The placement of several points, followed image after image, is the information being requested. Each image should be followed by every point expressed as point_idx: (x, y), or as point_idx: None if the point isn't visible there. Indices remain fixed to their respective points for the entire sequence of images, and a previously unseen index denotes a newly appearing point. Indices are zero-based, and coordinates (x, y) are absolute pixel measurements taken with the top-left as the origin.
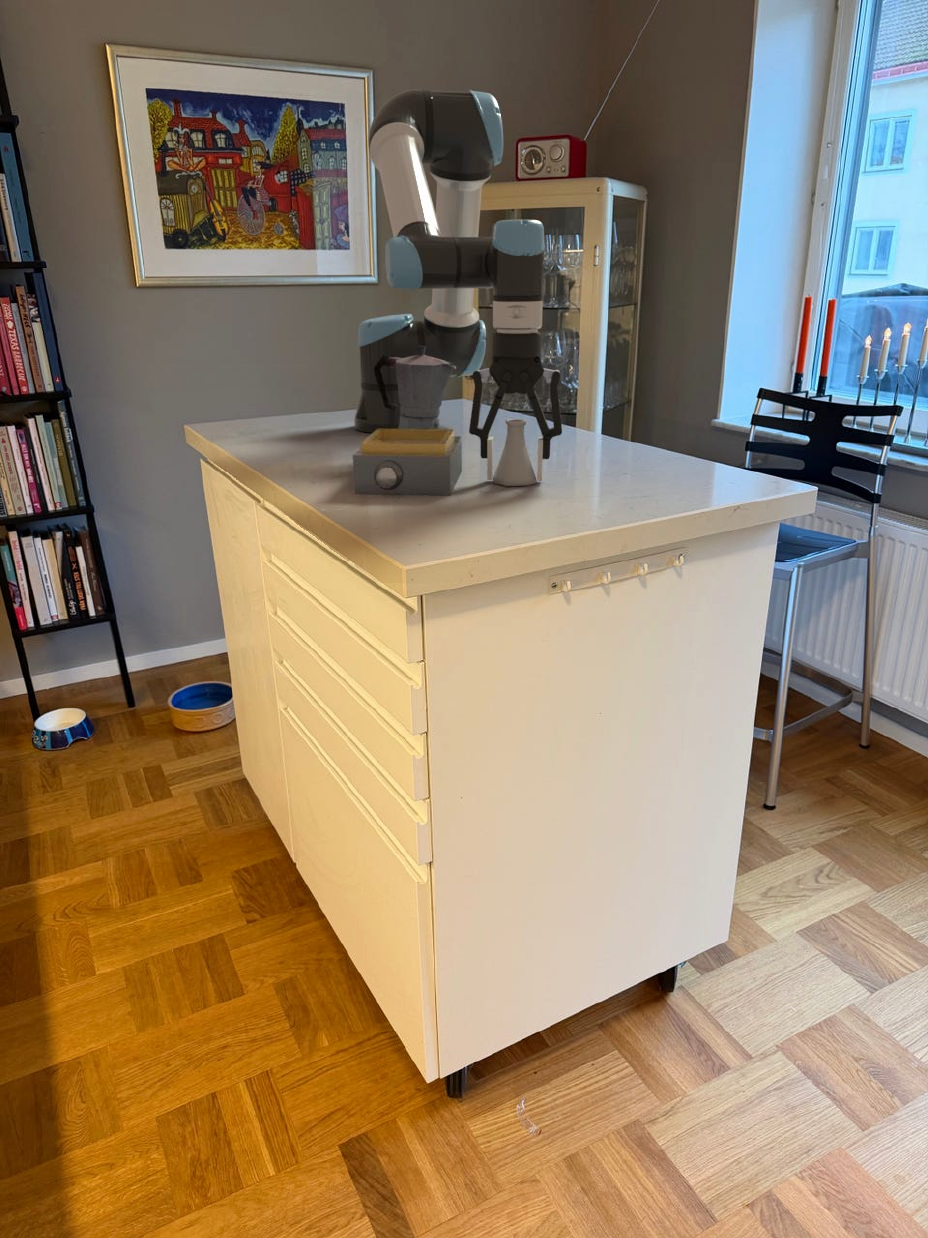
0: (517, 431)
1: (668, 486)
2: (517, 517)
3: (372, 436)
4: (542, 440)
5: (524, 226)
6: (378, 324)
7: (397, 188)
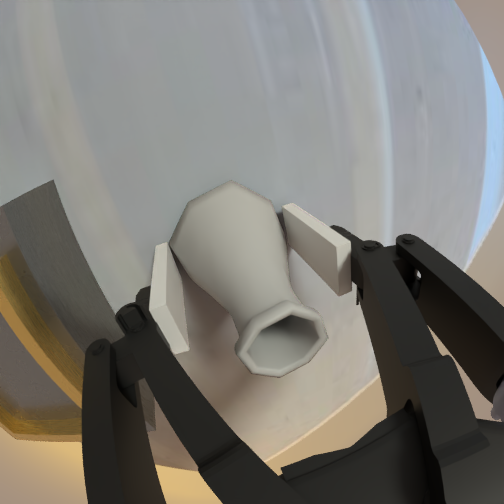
0: (284, 338)
1: (459, 178)
2: (289, 400)
3: None
4: (350, 290)
5: None
6: None
7: None
